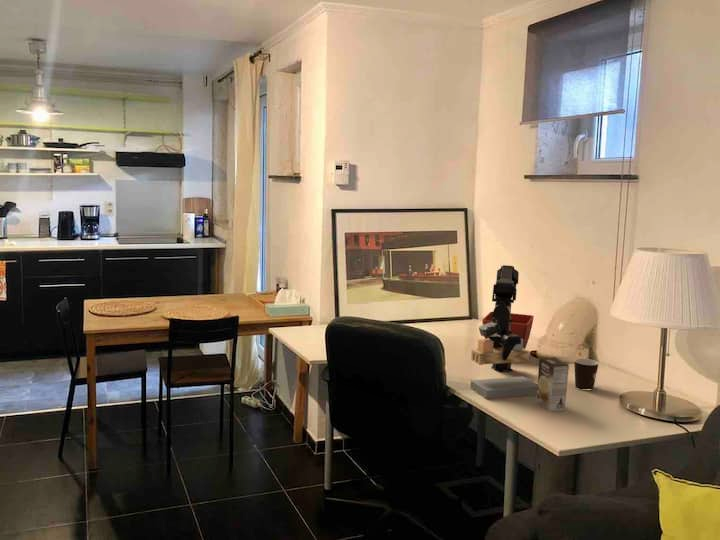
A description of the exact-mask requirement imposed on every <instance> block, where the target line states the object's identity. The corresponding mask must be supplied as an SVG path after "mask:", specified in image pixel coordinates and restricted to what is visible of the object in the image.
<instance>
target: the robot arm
mask: <svg viewBox="0 0 720 540" xmlns="http://www.w3.org/2000/svg"><path fill="white" fill-rule="evenodd" d="M519 274H520V272H519V271H518V270H517V269H515V266H513V265H505V264H502V265H500V268H499V269H497V271H496V281H495V284H493V286H492V287H493V288H492V297H491V298H492V299H491V301H492V302H495V306H494V309H493V311H492V312H493V316H494V318H492V319H491V322H490V323H487V324H484V325H483V324H482V325H480V326H478V329H479V335H480V336H481V337H484V339H485V338H488V339H490V340H492V341H494V342H493V348H502V352H503V360H506V359H507V358H508V356H509V354H510V353H511V351H512V349H513V348H514V347H515V345H517V344H521V337H520V336H518V335H516V334H512V331H511V330H510V323H512V322H513V320H512V319H510V316H511V313H512V304H514V302H515V301H516V300H517V290H518V289H517V285H519V276H520V275H519ZM491 368H492V369H493V370H496V371H497V372H502V373H503V372H511V371H512V372H513V370H514V369H513V368H512V363H497V364H492V365H491Z"/></svg>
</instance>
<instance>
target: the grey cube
mask: <svg viewBox="0 0 720 540" xmlns="http://www.w3.org/2000/svg"><path fill="white" fill-rule="evenodd" d="M521 350H523V339H521V344H517V345H515V347H514V348H513V349H512V351H521Z"/></svg>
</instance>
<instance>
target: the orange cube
mask: <svg viewBox="0 0 720 540" xmlns="http://www.w3.org/2000/svg"><path fill="white" fill-rule="evenodd" d="M477 342H478V343H477V349H478V350H479V351H481V352H483V353H486V352H493V342H494V341H492V340H490V339H485V338H479V339H478V341H477Z"/></svg>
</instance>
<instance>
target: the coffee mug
mask: <svg viewBox="0 0 720 540" xmlns="http://www.w3.org/2000/svg"><path fill="white" fill-rule="evenodd" d="M573 361H574V362H573V363H574V364H573V365H574V382H575V385H574V386H576V387H577V388H579V389H578V390H580V389H593V390H594V388H595V383H596V378H597V374H598V368H599V361H597V360H594V359H590V358H576V359H574V360H573ZM576 387H575V388H576ZM577 388H576V389H577Z"/></svg>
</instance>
